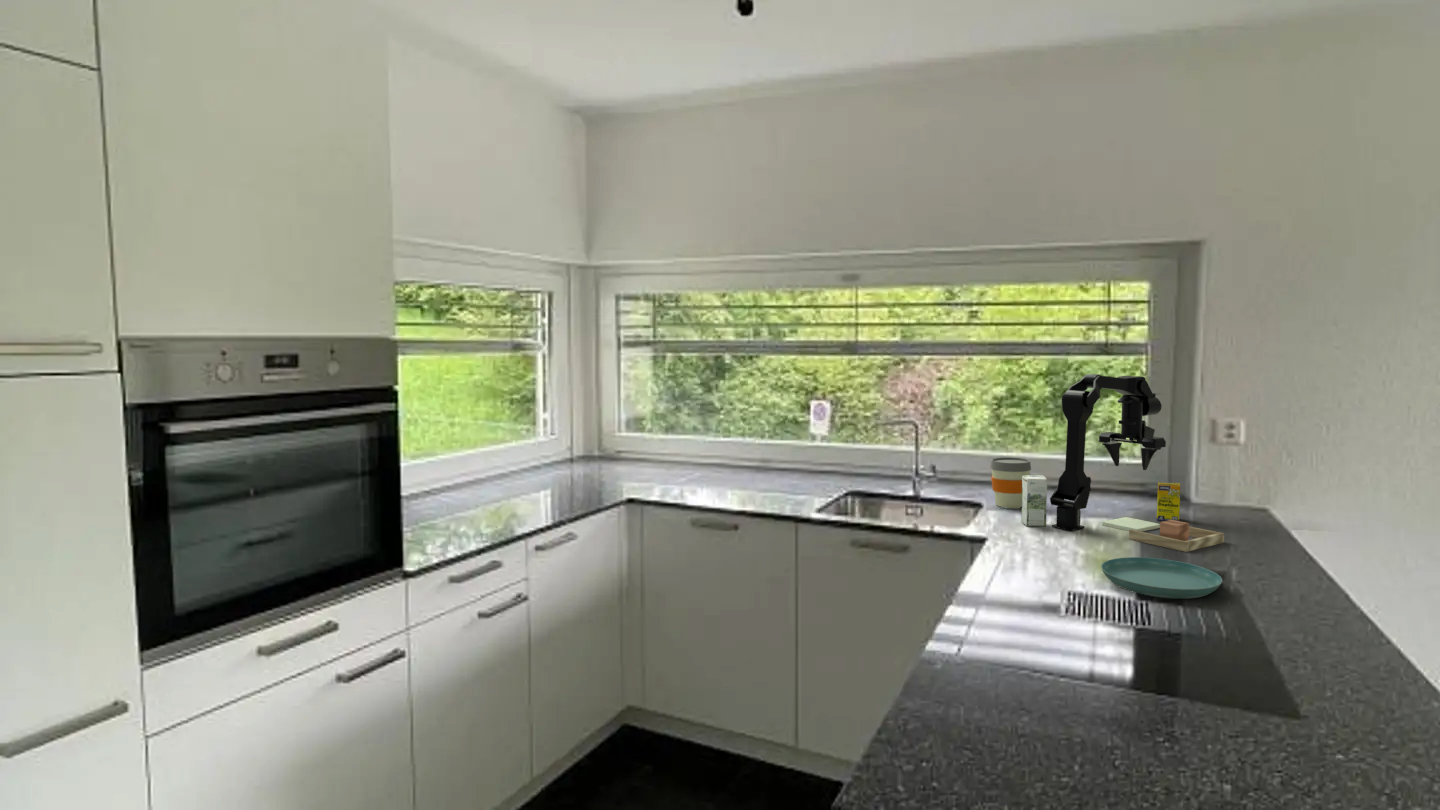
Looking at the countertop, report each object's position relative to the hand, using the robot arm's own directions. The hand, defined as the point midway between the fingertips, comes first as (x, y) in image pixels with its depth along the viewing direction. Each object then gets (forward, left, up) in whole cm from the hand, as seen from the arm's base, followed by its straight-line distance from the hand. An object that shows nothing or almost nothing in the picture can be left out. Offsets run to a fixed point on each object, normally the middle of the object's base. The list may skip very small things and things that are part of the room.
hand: (1130, 468), depth 254 cm
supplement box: (+4, -10, -15) cm, 18 cm away
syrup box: (-33, +8, -15) cm, 37 cm away
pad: (-12, -9, -15) cm, 21 cm away
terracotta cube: (-17, -25, -15) cm, 34 cm away
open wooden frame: (-17, -25, -15) cm, 34 cm away
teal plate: (-56, -46, -15) cm, 74 cm away
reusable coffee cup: (-18, +30, -15) cm, 38 cm away
